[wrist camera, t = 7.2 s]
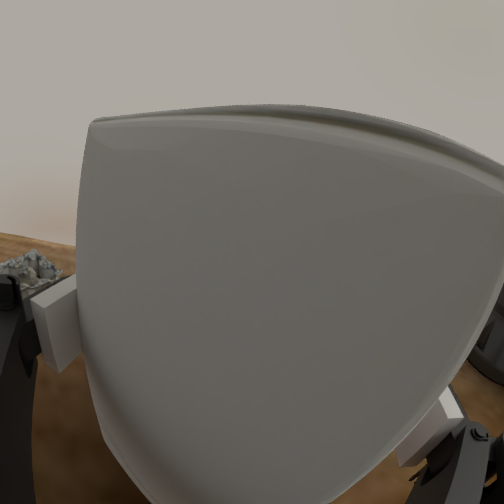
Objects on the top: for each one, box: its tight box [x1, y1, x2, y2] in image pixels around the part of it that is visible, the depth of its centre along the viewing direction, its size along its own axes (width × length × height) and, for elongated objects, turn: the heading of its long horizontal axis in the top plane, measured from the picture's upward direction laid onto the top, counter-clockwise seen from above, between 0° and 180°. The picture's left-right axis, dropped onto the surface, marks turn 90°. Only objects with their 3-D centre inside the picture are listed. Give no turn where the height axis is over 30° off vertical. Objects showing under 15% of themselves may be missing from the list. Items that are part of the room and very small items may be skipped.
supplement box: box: [76, 104, 504, 504], centre depth 9 cm, size 9×9×15 cm
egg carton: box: [0, 248, 63, 299], centre depth 21 cm, size 11×8×4 cm
